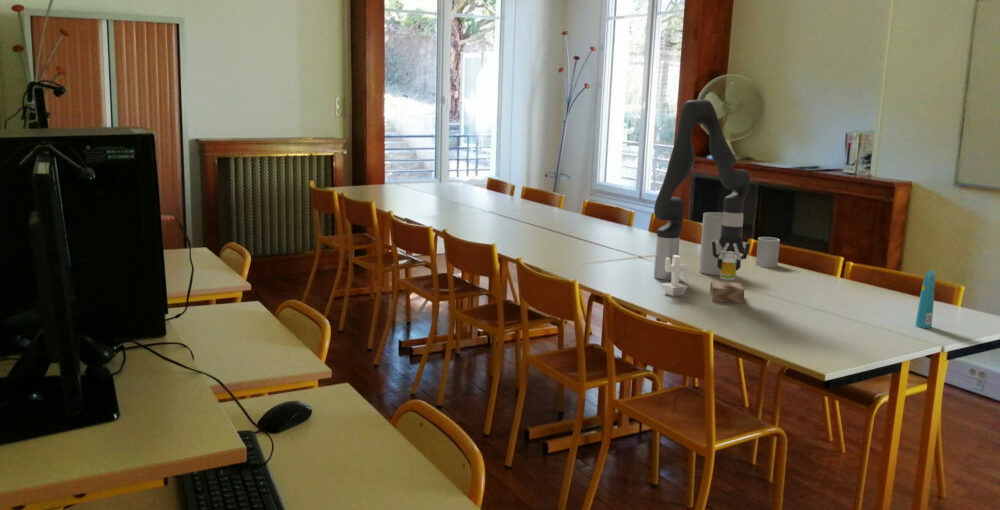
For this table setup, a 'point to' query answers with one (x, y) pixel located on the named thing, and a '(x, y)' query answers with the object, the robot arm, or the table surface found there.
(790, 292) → the table surface
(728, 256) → the supplement bottle
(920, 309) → the tube
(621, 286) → the table surface
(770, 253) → the cup
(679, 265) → the figurine
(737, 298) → the walnut block
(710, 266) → the cylinder vase
